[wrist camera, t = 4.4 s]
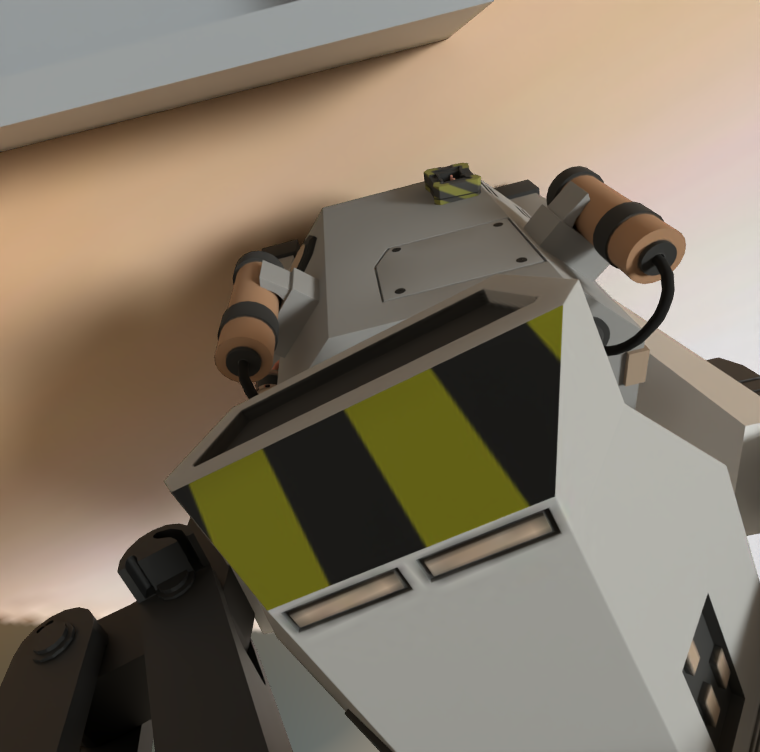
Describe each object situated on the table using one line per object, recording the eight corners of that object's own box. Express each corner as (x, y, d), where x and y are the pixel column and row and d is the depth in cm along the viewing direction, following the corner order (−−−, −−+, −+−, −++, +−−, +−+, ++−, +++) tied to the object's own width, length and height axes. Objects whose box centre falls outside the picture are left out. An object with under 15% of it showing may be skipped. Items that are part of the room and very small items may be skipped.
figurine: (342, 472, 21) (342, 1063, 8) (248, 199, 16) (-236, 607, 3) (551, 423, 21) (921, 963, 7) (526, 126, 15) (1658, 170, 2)
